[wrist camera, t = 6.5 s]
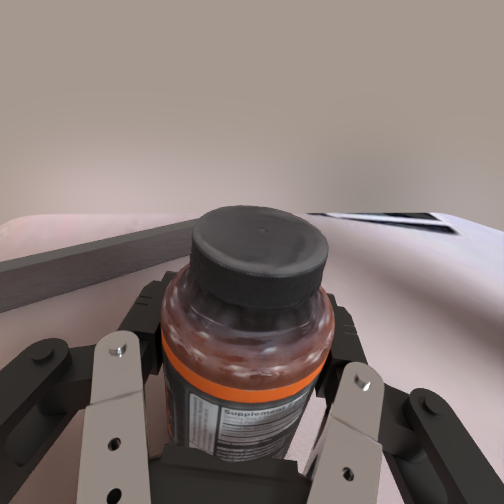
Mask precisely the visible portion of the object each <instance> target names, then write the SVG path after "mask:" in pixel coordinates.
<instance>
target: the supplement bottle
mask: <svg viewBox="0 0 504 504" xmlns="http://www.w3.org/2000/svg"><path fill="white" fill-rule="evenodd" d="M328 250H329V247H328V244H327V240H326V238H325V237H324V236H323V235H322V233H321V232H320V231H319V230H318V229H317V228H316V227H315V226H313V225H312V224H310V223H309V222H308V221H306V220H303V219H302V218H300V217H297V216H295V215H293V214H291V213H288V212H285V211H281V210H277V209H273V208H268V207H258V206H243V205H240V206H227V207H221V208H218V209H215V210H212V211H210V212H208V213H206V214H205V215H203V216H202V217H200V218H199V219H198V220H197V222H196V223H195V225H194V227H193V231H192V247H191V254H190V263H189V264H187V265H186V266H185V267H184V268H182V269H181V270H180V271H179V272H178V273H177V274H176V275H175V276H174V277H173V279H172V280H171V282H170V283H169V285H168V287H167V289H166V291H165V294H164V297H163V301H162V307H161V311H160V313H161V320H160V321H161V335H162V352H163V354H162V355H163V370H164V378H165V392H166V411H167V426H168V435H169V442H170V445H176V446H184V447H192V448H198V449H200V450H203V451H205V452H207V453H209V454H211V455H214V456H216V457H218V458H220V459H222V460H224V461H227V462H230V463H234V462H240V461H245V460H251V459H256V458H262V457H269V458H277V459H284V457H285V455H286V453H287V451H288V448H289V446H290V444H291V441H292V439H293V437H294V435H295V432H296V430H297V427H298V425H299V423H300V420H301V418H302V415H303V413H304V411H305V409H306V406H307V404H308V401H309V399H310V397H311V395H312V392H313V390H314V387H315V385H316V383H317V380H318V378H319V375H320V373H321V371H322V368H323V365H324V363H325V360H326V358H327V356H328V353H329V351H330V348H331V344H332V341H333V336H334V329H335V319H334V313H333V309H332V305H331V303H330V300H329V298H328V296H327V294H326V292H325V290H324V289H323V288H322V287H321V281H322V275H323V274H322V273H323V270H324V267H325V263H326V260H327V257H328Z"/></svg>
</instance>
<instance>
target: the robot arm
mask: <svg viewBox="0 0 504 504" xmlns="http://www.w3.org/2000/svg"><path fill="white" fill-rule="evenodd" d="M177 273H178V272H172V271H167V272H166V273H165V275H164V277H163V279H162V280H161V281H154V280H153V281H152V282H151V283H149V284H148V285H146V286H145V287H144V288H143V290H142V291H141V293H140V295H139V297H138V298H137V299H136V301H135V303H134V304H133V306H132V307H131V309H130V311H129V312H128V314H127V315H126V317H125V318H124V320H123V322H122V323H121V325H120V326H119V328H118V330H117V331H116V332H112V333H110V334H108V335H106V336H104V337H103V338H102V339H101V340H100V341H99V342H98V343H97V344H95V345H90V346H83V347H75V348H69V347H68V344H67V343H66V342H65V341H64V340H61V339H57V338H50V339H44V340H41V341H38V342H36V343H34V344H32V345H30V346H29V347H27V348H26V349H25V350H23V351H22V352H21V353H20V354H19V355H18V356H17V357H15V358H14V359H13V360H12V361H11V362H10V363H9V364H8V365H6V366H5V367H4V368H3V369H2V370H1V371H0V504H8V503H9V502H10V501H11V499H12V498H13V497H14V495H15V494H16V493H17V491H18V490H19V489H20V487H21V486H22V485H23V483H24V482H25V481H26V479H27V478H28V477H29V475H30V474H31V473H32V471H33V470H34V469H35V467H36V466H37V465H38V463H39V462H40V461H41V459H42V458H43V457H44V455H45V454H46V453H47V451H48V450H49V449H50V447H51V446H52V445H53V443H54V442H55V441H56V439H57V438H58V437H59V435H60V434H61V433H62V431H63V430H64V429H65V427H66V426H67V425H68V423H69V422H70V421H71V419H72V418H73V417H74V416H75V414H76V413H77V412H78V410H80V409H85V408H86V410H85V416H84V426H83V437H82V448H81V459H80V470H79V480H78V491H77V502H76V504H376V503H377V494H378V486H379V477H380V469H381V460H382V451H383V454H384V456H385V458H386V461H387V463H388V465H389V468H390V470H391V473H392V475H393V477H394V480H395V482H396V484H397V487H398V489H399V491H400V494H401V496H402V499H403V501H404V503H405V504H504V484H503V482H502V481H501V479H500V478H499V476H498V475H497V474H496V472H495V471H494V469H493V468H492V466H491V465H490V463H489V462H488V460H487V459H486V458H485V456H484V455H483V453H482V452H481V450H480V449H479V447H478V446H477V444H476V443H475V442H474V440H473V439H472V437H471V436H470V434H469V433H468V431H467V430H466V428H465V427H464V426H463V424H462V423H461V421H460V420H459V418H458V417H457V415H456V414H455V413H454V411H453V410H452V408H451V407H450V406H449V404H448V403H447V402H446V401H445V400H444V399H443V398H442V397H440V396H439V395H438V394H436V393H434V392H432V391H430V390H428V389H424V388H417V389H414V390H413V391H412V392H411V393H410V394H407V393H405V392H403V391H400V390H398V389H396V388H393V387H391V386H389V385H387V384H385V383H384V382H383V380H382V378H381V376H380V375H379V374H378V373H377V372H376V371H375V370H374V369H373V368H372V367H370V366H369V365H368V363H367V360H366V357H365V354H364V351H363V349H362V346H361V343H360V340H359V337H358V335H357V331H356V328H355V327H354V323H353V320H352V317H351V315H350V314H349V313H348V311H347V310H346V309H345V308H344V307H340V306H337V304H336V300H335V297H334V295H333V294H329V293H326V294H327V296H328V298H329V300H330V303H331V305H332V309H333V313H334V319H335V329H334V336H333V341H332V344H331V348H330V351H329V353H328V356H327V358H326V360H325V363H324V365H323V368H322V371H321V373H320V375H319V378H318V380H317V383H316V385H315V391H316V397H321V398H325V400H326V405H327V406H326V408H325V410H324V413H323V416H322V419H321V422H320V425H319V428H318V431H317V434H316V438H315V441H314V444H313V447H312V450H311V453H310V456H309V459H308V461H307V464H306V466H305V469H304V471H303V474H301V473H299V472H298V466H297V461H293V460H285V459H277V458H269V457H262V458H256V459H251V460H245V461H240V462H234V463H230V462H227V461H224V460H222V459H220V458H218V457H216V456H214V455H211V454H209V453H207V452H205V451H203V450H200V449H198V448H192V447H184V446H176V445H168V444H165V447H164V450H163V454H162V455H157V456H154V457H151V449H150V440H149V429H148V418H147V406H146V394H145V383H146V381H147V379H148V376H149V374H153V375H158V373H159V371H160V368H161V366H162V363H163V355H162V354H163V352H162V335H161V321H160V320H161V313H160V311H161V307H162V301H163V297H164V294H165V291H166V289H167V287H168V285H169V283H170V282H171V280H172V279H173V277H174V276H175V275H176V274H177Z"/></svg>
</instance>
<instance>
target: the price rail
mask: <svg viewBox="0 0 504 504" xmlns="http://www.w3.org/2000/svg"><path fill="white" fill-rule="evenodd" d="M198 219H199V218H198ZM198 219H193V220H189V221H184V222H180V223H175V224H171V225H166V226H162V227H157V228H153V229H148V230H144V231H139V232H135V233H130V234H125V235H121V236H116V237H112V238H107V239H103V240H98V241H94V242H89V243H85V244H80V245H76V246H71V247H67V248H62V249H58V250H53V251H49V252H44V253H40V254H35V255H30V256H26V257H21V258H17V259H12V260H8V261H3V262H0V313H1V312H4V311H7V310H11V309H14V308H17V307H20V306H24V305H27V304H30V303H33V302H37V301H40V300H43V299H46V298H50V297H53V296H56V295H59V294H63V293H66V292H69V291H72V290H76V289H79V288H82V287H85V286H89V285H92V284H95V283H98V282H102V281H105V280H108V279H111V278H115V277H118V276H121V275H124V274H128V273H131V272H134V271H137V270H141V269H144V268H147V267H150V266H154V265H157V264H160V263H163V262H167V261H170V260H173V259H176V258H180V257H183V256H186V255H189V254H191V247H192V231H193V227H194V225H195V223H196V222H197V220H198Z"/></svg>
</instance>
